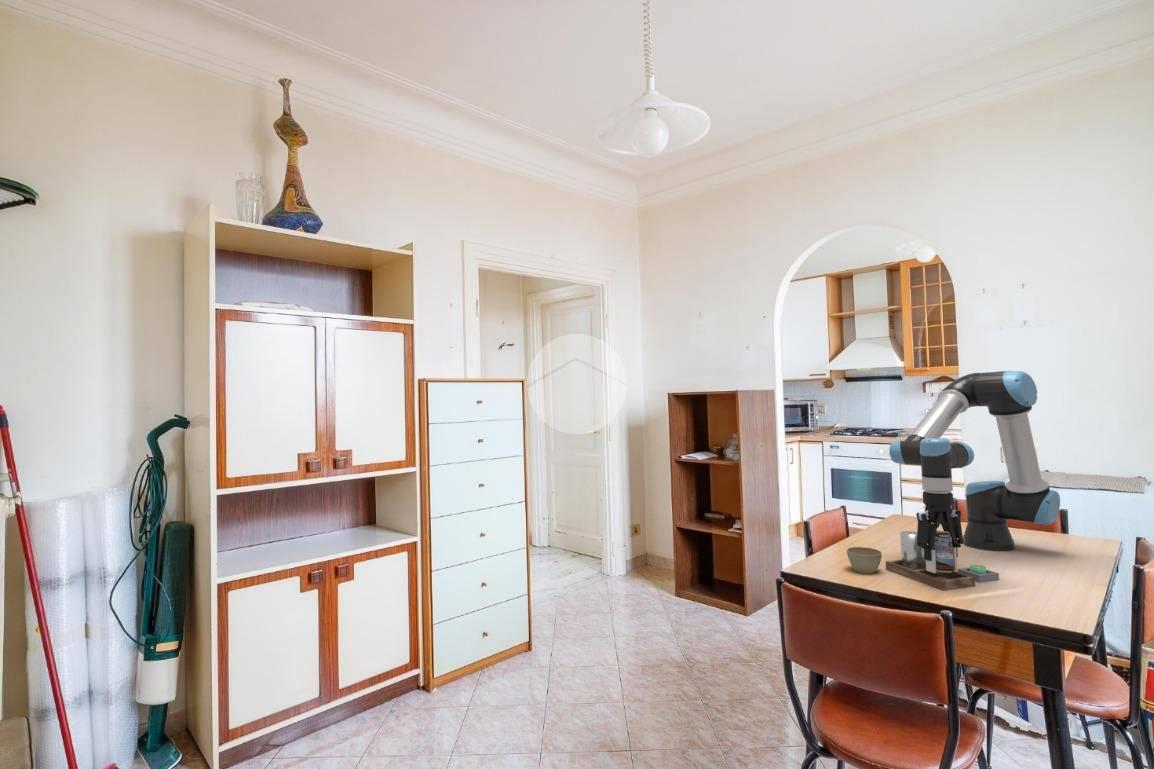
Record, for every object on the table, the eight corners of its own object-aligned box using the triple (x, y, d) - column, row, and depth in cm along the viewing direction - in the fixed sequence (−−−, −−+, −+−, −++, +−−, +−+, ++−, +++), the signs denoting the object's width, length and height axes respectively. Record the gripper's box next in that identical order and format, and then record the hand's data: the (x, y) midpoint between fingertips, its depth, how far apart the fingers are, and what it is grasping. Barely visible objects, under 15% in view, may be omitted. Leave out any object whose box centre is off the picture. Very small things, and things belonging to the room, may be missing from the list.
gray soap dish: (977, 576, 170) (976, 566, 170) (999, 583, 163) (998, 573, 164) (958, 578, 169) (957, 568, 169) (980, 586, 162) (979, 575, 162)
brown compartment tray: (914, 569, 179) (914, 558, 180) (975, 589, 159) (974, 577, 159) (886, 572, 177) (885, 561, 177) (943, 594, 156) (943, 581, 157)
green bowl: (849, 577, 174) (848, 554, 174) (846, 568, 183) (844, 546, 183) (885, 579, 170) (884, 556, 171) (880, 570, 180) (879, 547, 180)
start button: (977, 574, 169) (976, 564, 169) (990, 578, 165) (989, 567, 165) (966, 575, 168) (966, 565, 168) (979, 579, 164) (978, 569, 164)
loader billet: (914, 568, 177) (912, 530, 177) (932, 574, 170) (930, 535, 171) (897, 570, 175) (895, 532, 176) (914, 576, 169) (912, 536, 169)
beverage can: (935, 575, 160) (932, 533, 161) (924, 567, 167) (922, 527, 168) (959, 576, 159) (957, 533, 159) (948, 568, 166) (945, 527, 167)
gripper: (953, 487, 170) (957, 563, 169) (899, 491, 165) (903, 570, 165) (976, 490, 163) (980, 570, 162) (920, 495, 158) (924, 577, 157)
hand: (941, 570), depth 163 cm, fingers closed on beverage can, 7 cm apart
